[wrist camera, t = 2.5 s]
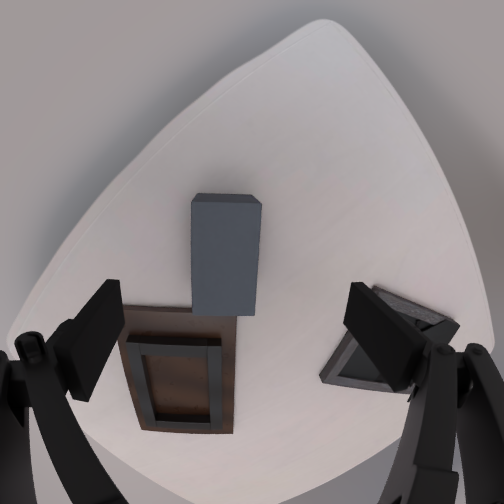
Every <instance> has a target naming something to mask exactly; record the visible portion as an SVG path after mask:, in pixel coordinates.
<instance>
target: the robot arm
mask: <svg viewBox="0 0 504 504" xmlns="http://www.w3.org/2000/svg"><path fill="white" fill-rule="evenodd" d="M343 324H344V325H345V326H346V328H347V329H348V330H349V332H350V333H351V334H352V336H353V337H354V338H355V340H356V341H357V342H358V344H359V345H360V346H361V348H362V349H363V350H364V352H365V353H366V354H367V356H368V357H369V359H370V360H371V361H372V363H373V364H374V365H375V367H376V368H377V370H378V371H379V372H380V374H381V375H382V376H383V378H384V379H385V381H386V382H387V383H388V385H389V386H390V388H391V389H392V390H393V392H394V393H396V392H399V391H403V390H407V388H408V386H409V384H410V382H411V380H413V381H414V383H415V384H416V385H415V387H414V389H413V391H412V393H411V395H410V397H409V399H408V401H407V402H410V405H409V410H408V414H407V418H406V422H405V426H404V429H403V433H402V437H401V440H400V444H399V447H398V451H397V454H396V457H395V460H394V463H393V465H392V468H391V471H390V474H389V477H388V479H387V482H386V485H385V487H384V490H383V492H382V495H381V497H380V500H379V502H378V504H455V499H456V493H457V488H458V481H459V474H458V472H454V471H452V464H453V455H454V447H455V437H456V433H457V438H458V443H459V449H460V454H461V461H462V468H463V476H464V485H465V496H466V504H504V382H503V379H502V378H501V375H500V373H499V371H498V369H497V367H496V366H495V364H494V362H493V360H492V358H491V357H490V354H489V353H488V351H487V350H486V348H484V347H483V346H482V345H479V344H478V343H477V344H476V343H470V344H468V345H467V347H466V349H465V352H455V350H454V349H453V347H451V346H450V345H448V344H445V343H434V342H433V341H431V340H430V339H429V338H428V337H427V336H426V335H425V334H424V333H423V332H421V330H420V329H418V328H417V327H416V326H415V325H414V324H413V323H412V322H411V321H409V320H407V319H405V318H402V317H401V316H400V315H399V314H398V313H397V312H396V311H394V310H393V309H392V308H391V307H390V306H389V305H388V304H387V303H386V302H385V301H383V300H382V299H381V298H380V297H379V296H378V295H377V294H376V293H374V292H373V291H372V290H371V289H370V288H369V287H368V286H366V285H365V284H364V283H363V282H351V287H350V292H349V298H348V303H347V307H346V312H345V317H344V322H343ZM124 325H125V318H124V311H123V304H122V297H121V289H120V281H119V280H114V279H107V280H106V281H105V282H104V283H103V284H102V286H101V287H100V288H99V289H98V290H97V291H96V293H95V294H94V295H93V296H92V297H91V299H90V300H89V301H88V302H87V303H86V305H85V306H84V307H83V308H82V309H81V311H80V312H79V313H78V314H77V316H76V317H75V318H74V319H68V320H66V321H64V322H63V323H61V324H60V325H59V327H58V328H57V329H56V331H54V333H53V334H52V335H51V336H50V338H49V339H48V340H47V341H46V343H45V342H44V338H43V336H42V334H41V333H39V332H35V331H30V332H26V333H23V334H21V335H20V336H18V337H17V338H16V340H15V343H14V345H15V347H16V350H17V353H18V355H19V358H20V360H13V361H9V359H8V357H7V354H6V353H5V352H4V351H2V350H0V504H37V501H36V495H35V489H34V482H33V474H32V466H31V455H30V439H29V407H32V408H33V411H34V415H35V418H36V420H37V424H38V427H39V430H40V433H41V435H42V438H43V441H44V443H45V446H46V449H47V451H48V453H49V456H50V458H51V461H52V463H53V465H54V467H55V470H56V472H57V474H58V476H59V478H60V480H61V482H62V484H63V486H64V488H65V490H66V492H67V494H68V496H69V498H70V500H71V501H72V503H73V504H129V503H128V502H127V500H126V499H125V498H124V496H123V495H122V494H121V492H120V491H119V489H118V488H117V487H116V485H115V484H114V482H113V481H112V479H111V478H110V477H109V475H108V474H107V472H106V471H105V469H104V467H103V466H102V465H101V463H100V461H99V459H98V458H97V456H96V454H95V453H94V451H93V449H92V448H91V446H90V444H89V442H88V441H87V439H86V437H85V435H84V433H83V431H82V429H81V428H80V426H79V424H78V422H77V420H76V418H75V416H74V414H73V412H72V410H71V407H70V405H69V403H68V401H67V399H66V396H65V395H66V393H67V391H68V390H69V392H70V394H71V396H72V399H74V400H79V401H84V402H89V399H90V397H91V395H92V392H93V390H94V388H95V386H96V383H97V381H98V379H99V377H100V375H101V372H102V370H103V368H104V366H105V364H106V362H107V359H108V357H109V355H110V353H111V351H112V349H113V347H114V345H115V343H116V341H117V339H118V337H119V335H120V333H121V331H122V329H123V327H124ZM410 400H411V401H410Z"/></svg>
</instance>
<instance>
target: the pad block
mask: <svg viewBox="0 0 504 504" xmlns="http://www.w3.org/2000/svg"><path fill="white" fill-rule="evenodd" d="M261 210H262V203H260V202H259V201H258V200H257V199H256V198H255V197H254V196H252V195H241V194H206V193H197V195H196V196H195V197H194V199H193V200H192V202H191V285H192V315H196V316H254V315H255V302H256V288H257V273H258V257H259V242H260V226H261Z"/></svg>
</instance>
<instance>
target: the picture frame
mask: <svg viewBox="0 0 504 504" xmlns="http://www.w3.org/2000/svg"><path fill="white" fill-rule="evenodd" d="M372 291H373V292H374V293H376V294H377V295H378V296H379V297H380V298H381V299H382V300H383V301H385V302H386V303H387V304H388V305H389V306H390V307H391V308H392V309H393V310H394V311H396V312H397V313H398V314H399V315H400V316H401V317H402V318H405V319H407V320H409V321H411V322H412V323H413V324H414V325H415V326H416V327H417V328H418V329H420V330H421V332H423V333H424V334H425V335H426V336H427V337H428V338H429V339H430V340H431V341H433V342H434V343H445V344H449V342H450V341H451V339H452V338H453V336H454V335H455V333H456V332H457V330H458V329H459V327H460V325H459V324H458V323H457V322H455V321H454V320H453V319H450V318H448V317H446V316H444V315H441V314H439V313H437V312H435V311H432V310H430V309H428V308H425V307H423V306H421V305H418V304H416V303H414V302H411V301H409V300H407V299H404V298H402V297H400V296H397V295H395V294H393V293H390V292H388V291H386V290H383V289H381V288H379V287H376V286H373V288H372ZM319 376H320V378H321V381H322V383H325V384H331V385H337V386H343V387H350V388H357V389H364V390H372V391H381V392H390V393H394V392H393V390H392V389H391V388H390V386H389V385H388V383H387V382H386V381H385V379H384V378H383V376H382V375H381V374H380V372H379V371H378V370H377V368H376V367H375V365H374V364H373V363H372V361H371V360H370V359H369V357H368V356H367V354H366V353H365V352H364V350H363V349H362V348H361V346H360V345H359V344H358V342H357V341H356V340H355V338H354V337H353V336H352V334H351V333H350V332H349V330H348V331H347V333H346V335H345V336H344V338H343V339H342V341H341V343H340V344H339V346H338V347H337V349H336V351H335V352H334V354H333V355H332V357H331V358H330V360H329V361H328V363H327V364H326V366H325V367H324V369H323V370H322V372H321V373H320V375H319ZM415 385H416V384H415V383H414V381H413V380H411V382H410V384H409V386H408V388H407V390H403V391H399V392H396V393H400V394H411V393H412V391H413V389H414V387H415Z"/></svg>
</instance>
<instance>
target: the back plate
mask: <svg viewBox="0 0 504 504" xmlns="http://www.w3.org/2000/svg"><path fill="white" fill-rule="evenodd" d="M123 311H124V318H125V325H124V327H123V329H122V331H121V333H120V335H119V337H118V339H117V341H118V346H119V350H120V355H121V359H122V363H123V367H124V372H125V376H126V379H127V383H128V387H129V391H130V394H131V398H132V401H133V404H134V408H135V411H136V414H137V417H138V421H139V424H140V427H141V430H148V431H158V432H171V433H190V434H233V418H234V381H235V349H236V321H237V316H196V315H192V308H166V307H143V306H125V305H123Z"/></svg>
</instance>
